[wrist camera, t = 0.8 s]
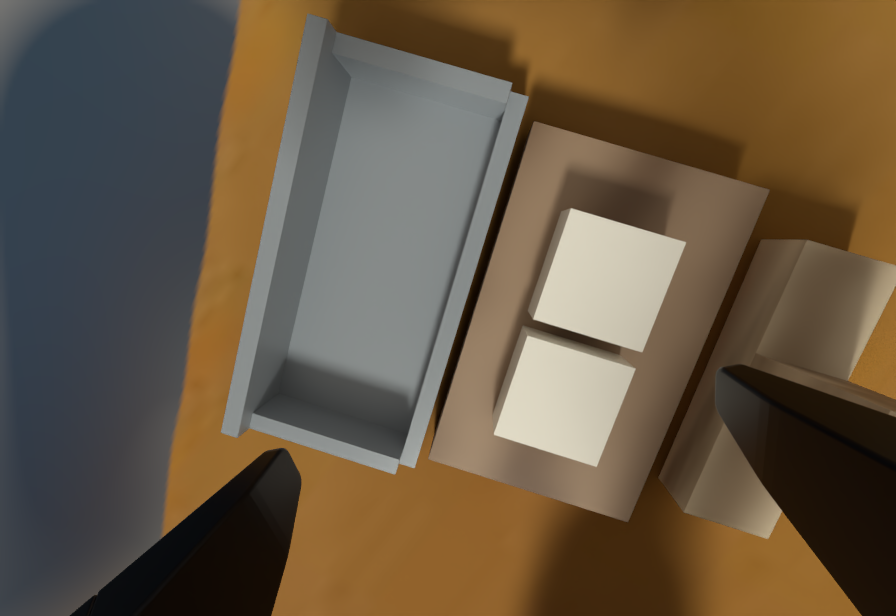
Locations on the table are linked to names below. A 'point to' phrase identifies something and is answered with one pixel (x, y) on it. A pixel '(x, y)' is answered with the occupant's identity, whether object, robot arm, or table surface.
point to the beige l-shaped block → (777, 367)
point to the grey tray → (368, 246)
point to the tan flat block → (657, 368)
